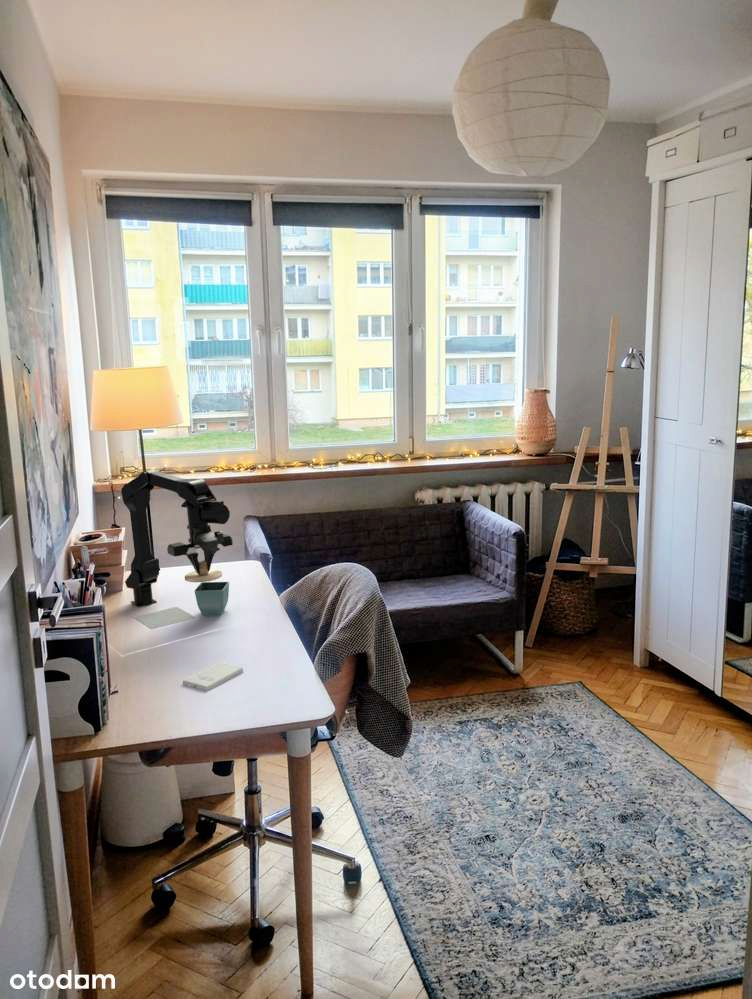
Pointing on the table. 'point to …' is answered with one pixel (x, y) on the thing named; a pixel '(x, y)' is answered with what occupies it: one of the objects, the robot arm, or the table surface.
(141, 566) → the robot arm
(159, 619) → the mat
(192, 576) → the lid
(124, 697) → the table surface
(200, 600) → the flower pot
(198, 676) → the external hard drive
